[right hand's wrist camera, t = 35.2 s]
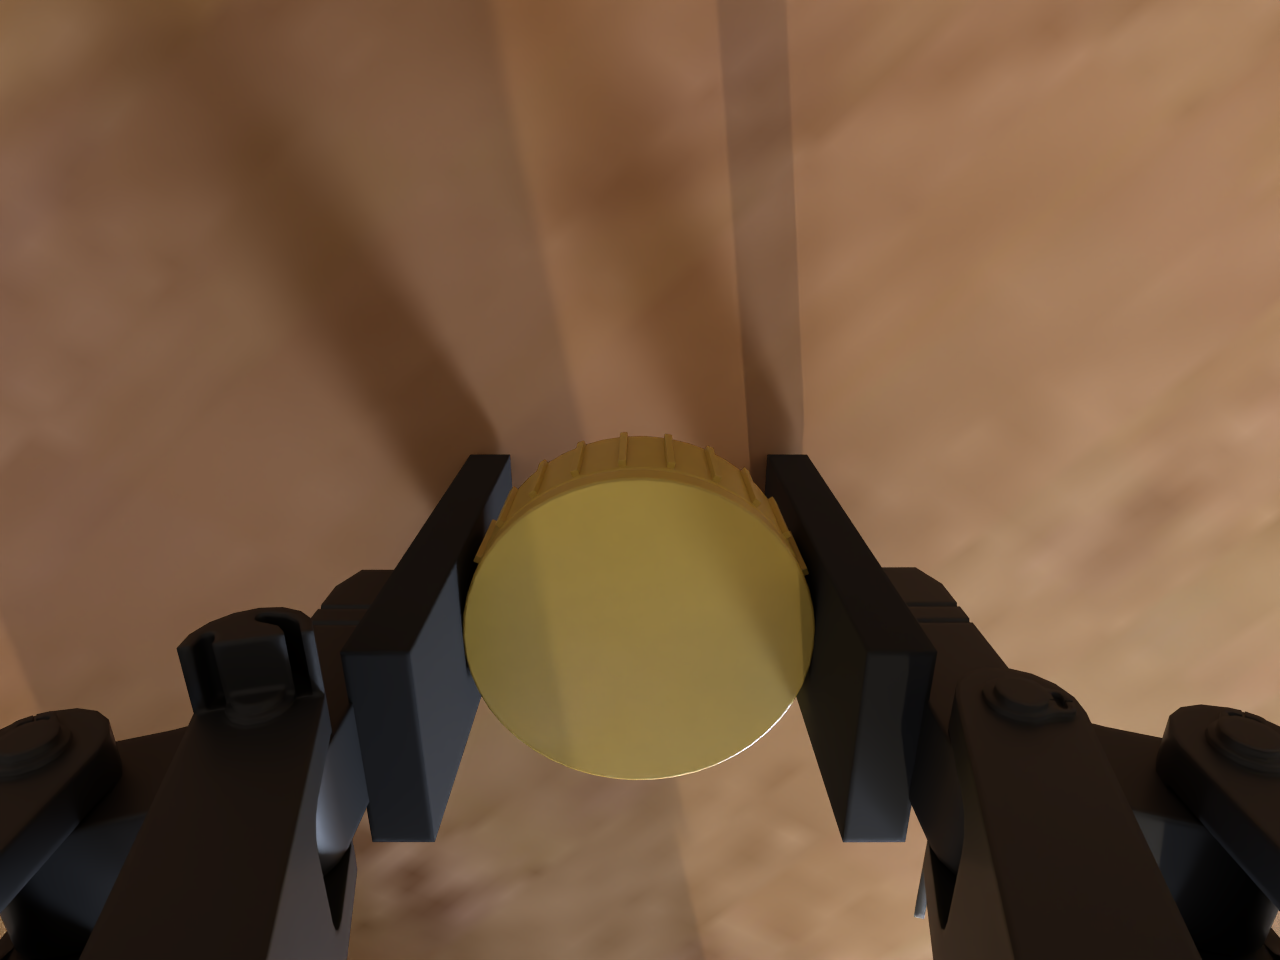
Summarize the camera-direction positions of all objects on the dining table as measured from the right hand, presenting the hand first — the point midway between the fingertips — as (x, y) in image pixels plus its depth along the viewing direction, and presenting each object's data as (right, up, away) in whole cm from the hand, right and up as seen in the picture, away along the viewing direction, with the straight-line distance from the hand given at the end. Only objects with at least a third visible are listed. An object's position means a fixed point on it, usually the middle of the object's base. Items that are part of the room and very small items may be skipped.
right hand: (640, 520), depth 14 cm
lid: (0, -1, -4) cm, 4 cm away
